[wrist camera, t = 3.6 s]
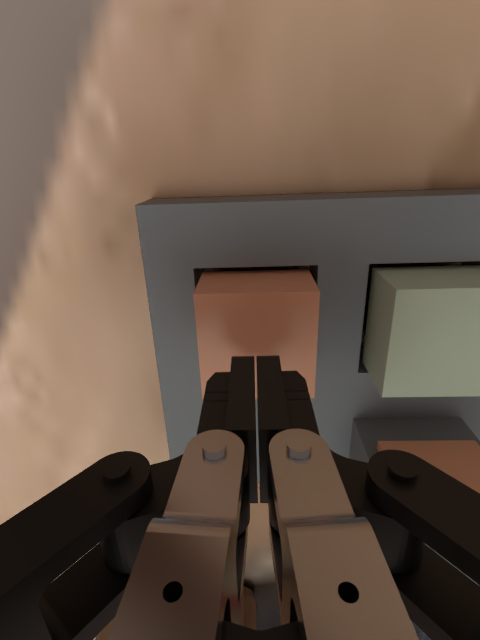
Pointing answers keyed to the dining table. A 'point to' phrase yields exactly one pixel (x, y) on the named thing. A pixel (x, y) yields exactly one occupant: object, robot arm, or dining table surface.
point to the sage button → (424, 331)
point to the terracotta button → (257, 320)
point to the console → (334, 309)
